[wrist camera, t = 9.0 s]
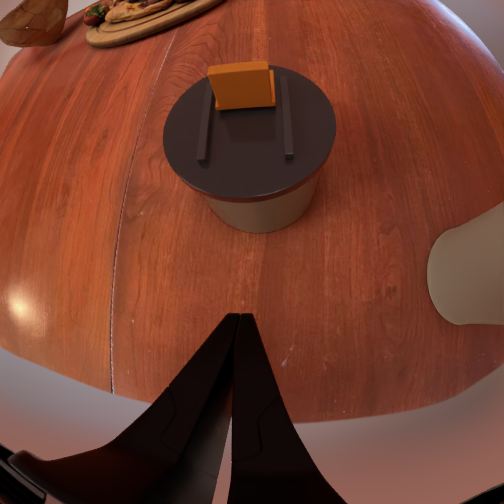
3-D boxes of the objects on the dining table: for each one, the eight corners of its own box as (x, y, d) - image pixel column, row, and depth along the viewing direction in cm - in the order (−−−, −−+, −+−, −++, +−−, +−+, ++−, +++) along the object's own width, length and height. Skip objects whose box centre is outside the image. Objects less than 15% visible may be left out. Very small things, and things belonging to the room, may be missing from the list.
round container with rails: (325, 237, 22) (350, 192, 13) (196, 239, 23) (146, 200, 14) (315, 129, 24) (323, 57, 15) (205, 134, 25) (174, 69, 16)
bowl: (56, 30, 43) (28, -6, 23) (99, 9, 40) (71, -36, 20) (17, 77, 39) (-19, 41, 20) (55, 57, 36) (14, 9, 17)
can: (484, 331, 18) (571, 335, 7) (416, 314, 20) (512, 315, 8) (495, 243, 20) (573, 210, 8) (432, 215, 21) (511, 157, 9)
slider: (275, 106, 15) (272, 68, 11) (216, 110, 15) (203, 75, 12) (273, 73, 15) (270, 37, 12) (220, 77, 16) (209, 43, 12)
